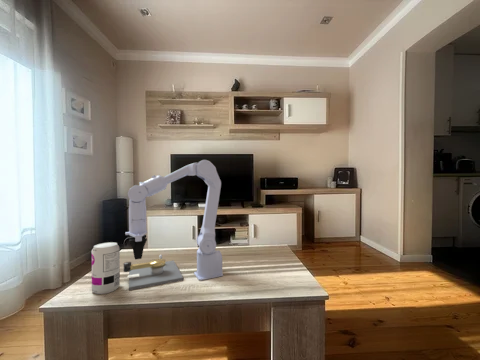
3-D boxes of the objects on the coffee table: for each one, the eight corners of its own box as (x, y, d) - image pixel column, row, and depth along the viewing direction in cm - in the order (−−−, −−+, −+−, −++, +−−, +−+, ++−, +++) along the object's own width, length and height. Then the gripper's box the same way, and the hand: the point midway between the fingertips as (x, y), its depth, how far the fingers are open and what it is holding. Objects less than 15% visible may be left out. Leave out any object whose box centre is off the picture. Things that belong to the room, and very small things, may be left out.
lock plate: (173, 262, 104) (173, 251, 104) (183, 280, 85) (183, 266, 85) (127, 269, 97) (127, 257, 97) (127, 290, 78) (127, 275, 78)
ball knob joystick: (164, 262, 95) (164, 255, 95) (166, 267, 89) (166, 259, 89) (123, 268, 88) (123, 261, 88) (123, 274, 83) (123, 266, 83)
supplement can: (88, 296, 74) (87, 249, 74) (96, 285, 82) (96, 242, 82) (116, 293, 76) (116, 247, 76) (121, 282, 84) (121, 241, 84)
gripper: (125, 217, 88) (125, 253, 88) (124, 223, 75) (125, 265, 74) (145, 216, 91) (146, 250, 91) (148, 221, 78) (148, 262, 77)
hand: (138, 257), depth 83 cm, fingers open, 3 cm apart
